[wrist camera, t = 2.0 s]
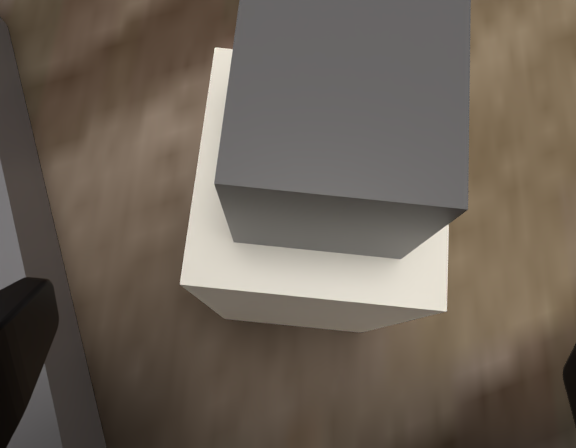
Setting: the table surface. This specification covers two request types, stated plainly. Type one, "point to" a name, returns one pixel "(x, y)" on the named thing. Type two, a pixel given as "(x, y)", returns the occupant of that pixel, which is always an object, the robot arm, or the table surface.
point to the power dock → (42, 264)
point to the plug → (332, 163)
